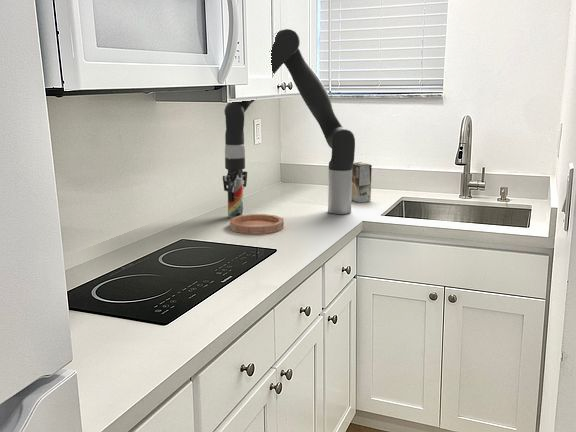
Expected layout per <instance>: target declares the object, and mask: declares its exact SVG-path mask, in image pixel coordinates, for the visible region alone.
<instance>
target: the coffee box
mask: <svg viewBox="0 0 576 432" xmlns="http://www.w3.org/2000/svg"><path fill="white" fill-rule="evenodd" d="M372 167H373V165H372V164H369V163H365V162H353V165H352V196H351V201H354V202H356V203H367V201H369V202H371V197H372V171H373V169H372Z"/></svg>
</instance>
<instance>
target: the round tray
mask: <svg viewBox="0 0 576 432" xmlns="http://www.w3.org/2000/svg"><path fill="white" fill-rule="evenodd" d="M229 219H230V220H229V228H230V230H232V231H233V232H235V233H238V234H246V235H266V234H273V233H277V232H280V231H282V230H283V229H284V226H285V225H284V224H285V222H284V218H283V217H281V216H278V215H275V214H268V213H267V214H266V213H251V214H250V213H249V214H243V215H241V216H236V217H234V218H229Z"/></svg>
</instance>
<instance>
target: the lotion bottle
mask: <svg viewBox="0 0 576 432" xmlns="http://www.w3.org/2000/svg"><path fill="white" fill-rule="evenodd" d="M236 175H239V177H238V179H237V180H236V187H235V188H234V202H229V201H228V200H227V216H228V218H229V219H231V218H234V217H236V216H241V215H244V205H243V204H244V202H243V200H244V191H243V190H244V189H243V184H244V183H242V178H240V170H236ZM234 180H235V179H234ZM230 183H231V184H233V183H234V182H232V181H230ZM231 189H232V186H231Z"/></svg>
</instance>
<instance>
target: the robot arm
mask: <svg viewBox="0 0 576 432" xmlns="http://www.w3.org/2000/svg"><path fill="white" fill-rule="evenodd" d="M278 31H279V32H278ZM278 31H277V32H278V33H277V32H276V33H277V35H276V37H275V42H274V44H273V45H272V46H271V48H272V50H271V49H270V50H271V52H272V53H271V56H272V57H271V59H272V60H271V63H272V64H271V65H272V71H273V73H274V75H275V74H276V73H277V71H278V70H279V69H280V68H281V67H282V65H283V64H284V65H285V68H287V70H288V72H289V73H290V75H291V78H292V80H293V83H294V84H295V87H296V88H297V90H298V91H297V92H299V94H300V96H301V98H302V100H303V102H304V103H305V105H306V106H307V108H308V109H309V111H310V113H311V114H312V116H313V117H314V118H315V120H316V122H317V124H318V125H319V128H320V130H321V132H322V133H323V135H324V138H325V141H326V143H327V146H328V147H329V148H330V149H331V158H330V160H329V163H328V179H327V180H328V182H327V183H328V185H327V188H328V190H327V191H328V192H327V193H328V194H327V197H328V198H327V201H328V202H327V209H328V210H327V212H328V213H330V214H334V215H346V214H350V213H352V200H351V196H352V165H353V163H355V151H356V138H355V134H354V133H353V132H352V130H349V129H347V128H344V127H343V126H342V124H341V122H340V121H339V119H338V118H337V116H336V114H335V112H334V109H333V106H332V101H331V98H330V95H329V93H328V90H327V89H326V87H325V86H324V83H323V81H322V80H321V79H320V77H319V76H318V75H317V73H316V72H315V71H314V70H313V68H312V67H311V66H310V65H309V63H308V62H307V61H306V60H305V58H304V56H303V54H302V52H301V49H300V48H299V47H300V43H301V39H300V37H299V34H298V33H297V32H296V31H295V30H292V29H289V28H286V29H285V28H284V29H282V30H278ZM255 101H256V100H251V101H242V102H232V103H229V102H228V103H227V104H226V105H225V108H224V116H225V135H224V137H225V139H224V140H225V141H224V142H225V145H224V146H225V147H224V167H225V169H226V170H227V175H222V184H223V191H224V192H227V202H228V201H229V202H234V188H235V187H236V180H237V179H238V177H239V175H236V170H240V178H242V183H243V190H244V189H245V188H246V187H247V181H248V171H244V169H245V168H246V148H245V147H246V146H245V133H244V132H245V131H244V129H245V128H244V127H245V113H246V111H247V110H248V108H249V107H250V105H251V104H252V103H254V102H255ZM234 179H235V180H234ZM230 181H232V182H234V183H233V184H231V183H230ZM231 186H232V189H231Z"/></svg>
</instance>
